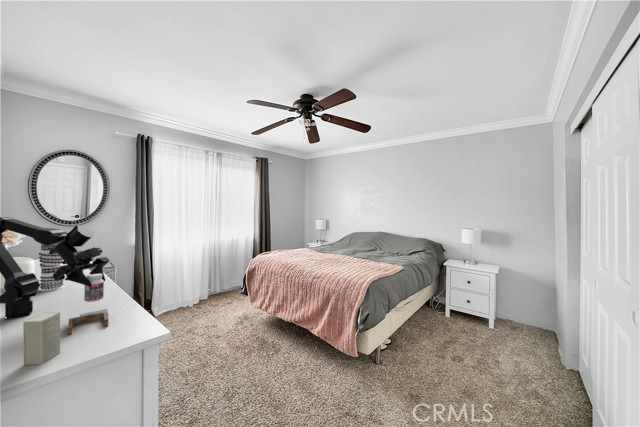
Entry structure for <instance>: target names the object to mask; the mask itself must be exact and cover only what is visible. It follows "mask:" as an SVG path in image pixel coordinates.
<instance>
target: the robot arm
mask: <svg viewBox="0 0 640 427" xmlns="http://www.w3.org/2000/svg"><path fill="white" fill-rule="evenodd" d="M7 231H9V232H13V233H17V234H18V235H23V236H27V237H30V238H32V239H33V240H34V241H35V242H37V243H39V244H42V245H53V244H57V245H56V246H55V247H51V250H50V252H49V254H58V255H59V256H60V257H61V258H62V259H63V260H62V261H63V262H62V264H63V266H61V267H60V268H59V269H58V270H57V271H56V272H55V273H54V274H53V278H54V279H55V280H56V281H59V280H63V281H69V282H74V283H77V284H80V285H84V286H85V285H86V286H91V285H92V284H91V282H90V281H89V280H88V278H87V275H85V273H84V271H85V270H89V271H90V272H89V274H88V275H90V274H102V278H101V279H102V280H103V281H104V282H105V281H106V277H105V274H104V270H103V268H104V267H105V266H106V265H107V264H108V263H109V262H110V259H109V258H108V257H107V256H102V257H98V256H101V254H102V253H103V249H102V248H101V247H100V246H98V245H97V246H94V247H92V248H87V249H85V250H80V249H79V248H81V247H83V246H84V245H85V244H86V243H87V242H88V241H89V240H91V238H92V237H94V235H95V234H94V232H93V231H92V230H90V229H89V228H86V227H83V226H82V225H75V226H74V227H73V228H72V229H71V230H70V231H69V232H67V231H65V230H64V229H61V228H53V227H52V228H51V227H41V226H40V225H39V226H38V225H34V224H31V223H29V222H25V221H22V220H19V219H15V218H13V217H10V216H4V217H0V274H1V276H2V277H3V278H4V285H3V289H4V290H5V291H4V292H3V293H2V294H1V295H0V304H4V306H5V307H4V315H5V316H4V318H5V317H7V318H11V319H14V318H21V317H22V318H23V317H26V316H30V315H31V313H32V312H33V311H34V301H33V300H32V298H33V297H36V295H37V292H38V290H40V286H41V285H40V282H41V281H40V280H41V279H38V278H37V276H36V273H33V272H31V273H30V272H29V273H27V272H24V271H23V270H22V269H21V267H20V266H19V264H18V263H17V262H16V260H15V258H14V257H13V256H12V255H11V253H10V252H9V250H8V249H7V247H6V246H5V245H4V244H3V242H2V241H3V237H4V234H3V233H5V232H7ZM78 247H79V248H78ZM96 257H98V258H96ZM95 258H96V259H95ZM94 259H95V260H94ZM92 261H93V262H92Z"/></svg>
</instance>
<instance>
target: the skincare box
mask: <svg viewBox="0 0 640 427" xmlns="http://www.w3.org/2000/svg"><path fill="white" fill-rule="evenodd" d="M60 353H61V312H58V311H57V312H54V311H53V312H43V313H40V314H38V315H36V316H34V317H30V318H29V319H26V320H24V321H23V366H27V365H28V366H30V365H31V366H33V365H34V366H35V365H36V366H37V365H42V364H44V363H45V362H47V361H48V360H50V359H51V358H53V357H56V355H58V354H60Z"/></svg>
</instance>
